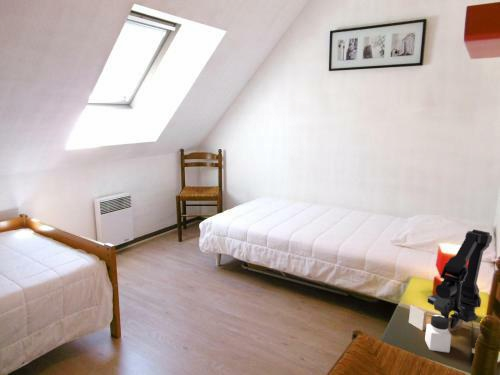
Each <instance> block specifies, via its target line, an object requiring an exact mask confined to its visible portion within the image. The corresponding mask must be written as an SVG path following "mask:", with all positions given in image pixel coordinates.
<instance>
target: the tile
mask: <svg viewBox="0 0 500 375" xmlns="http://www.w3.org/2000/svg"><path fill="white" fill-rule="evenodd" d="M427 314H428V313H427V311H426V310H424V309H422V308H420V307H418V306H416V305H415V304H410V306H409V317H408V323H409V324H410V325H413V326H414V327H416V329H419V330H420V331H426V325H427V323H426V322H427Z"/></svg>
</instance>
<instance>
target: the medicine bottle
mask: <svg viewBox="0 0 500 375" xmlns="http://www.w3.org/2000/svg"><path fill="white" fill-rule="evenodd" d="M448 326H449V320H448V319H447V318H446V317H444V316H442V315H440V314H433V315H432V316H431V318H430V323H426V325H425V334H424V335H425V337H424V340H425V343H426V345H427V347H428V350H430V351H433V352H435V351H436V352H442V353H450V351H451V344H452V338H453V337H452V333H451V331H448Z"/></svg>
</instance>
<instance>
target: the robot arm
mask: <svg viewBox="0 0 500 375" xmlns="http://www.w3.org/2000/svg"><path fill="white" fill-rule="evenodd" d="M492 241H493V236H492V234H491V233H490V232H489V231H483V230H481V229H480V230H479V229H473V230H469V231H467V232H466V233H465V238H464V240H463V242H462V244H461V246H460V247H459V249H458V251H457V253H456V254H455V255H454V256H451V257H449V259H448V261H447V262H445V264H444V267H443V269H442V272H441V273H440V276H439V277H440V278H441V279H443V280H442V281H441V283H439V284H437V285H436V286H435V293H436V294H432V295H429V296H428V297H427V303H428V304H430V305H431V306H433V308H434V310H435V311H438V312H440V314H441V316H444V317H446V318H447V319H448V318H451V317H452V320H451V329H453V328H454V327H455V325H456V324H457V323H458V321H459V320H460V319H461V320H463V322H465V323H470V322H474V321H477V319H478V318H479V317H478V315H477V314H476V309H477V308H480V307H481V304H482V298H481V296H480V289H479V286H478V284H477V283H478V278H479V273H480V268H481V265H482V264H481V263H482V259H483V255H484V251H486V250H487V249H488V248H489V246H490V244H492ZM451 312H453V314H452V313H451ZM450 313H451V314H450ZM449 316H450V317H449Z"/></svg>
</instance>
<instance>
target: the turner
mask: <svg viewBox="0 0 500 375" xmlns="http://www.w3.org/2000/svg"><path fill="white" fill-rule="evenodd" d="M448 320H449V326H448V331H449V332H452V331H456V330H459V329H462V328H463V322H464V321H463V320H461V319H460V320H459V321H458V323H457V324H456V325H455V327H454V328H453V329H451V320H452V317H451V316H450V317H449V318H448Z"/></svg>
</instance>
